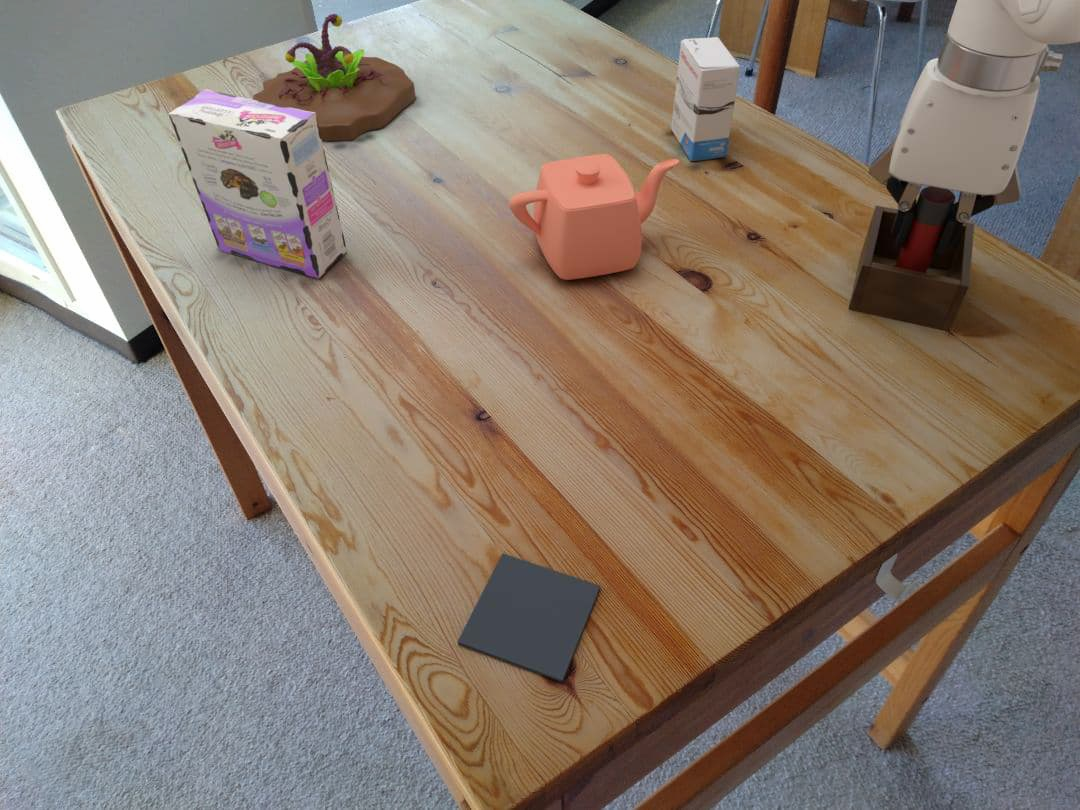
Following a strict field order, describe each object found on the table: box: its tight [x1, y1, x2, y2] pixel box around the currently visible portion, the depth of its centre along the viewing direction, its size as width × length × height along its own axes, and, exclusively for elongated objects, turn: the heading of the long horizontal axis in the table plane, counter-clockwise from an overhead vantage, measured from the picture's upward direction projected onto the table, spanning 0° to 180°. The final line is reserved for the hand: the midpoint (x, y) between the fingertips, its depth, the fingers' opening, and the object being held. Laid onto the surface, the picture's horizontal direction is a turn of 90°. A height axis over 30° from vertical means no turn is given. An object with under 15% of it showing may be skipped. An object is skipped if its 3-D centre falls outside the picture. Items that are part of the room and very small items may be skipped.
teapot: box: [509, 153, 680, 281], centre depth 89 cm, size 12×18×10 cm, turn 104°
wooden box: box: [848, 205, 975, 332], centre depth 85 cm, size 10×11×6 cm
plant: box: [252, 13, 417, 142], centre depth 113 cm, size 20×20×11 cm
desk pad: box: [457, 553, 601, 683], centre depth 62 cm, size 8×8×1 cm
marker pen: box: [894, 186, 956, 273], centre depth 83 cm, size 3×3×11 cm
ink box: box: [670, 36, 741, 162], centre depth 103 cm, size 8×5×12 cm, turn 11°
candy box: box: [168, 88, 348, 279], centre depth 87 cm, size 14×6×16 cm, turn 65°
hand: (920, 242), depth 83 cm, fingers closed on marker pen, 3 cm apart
